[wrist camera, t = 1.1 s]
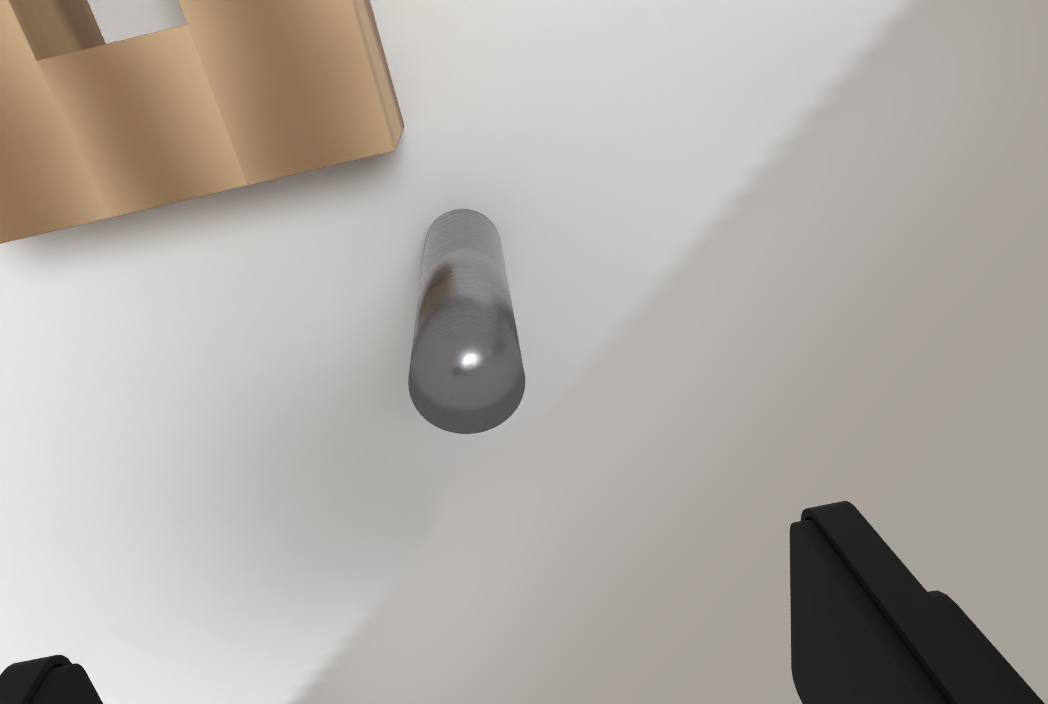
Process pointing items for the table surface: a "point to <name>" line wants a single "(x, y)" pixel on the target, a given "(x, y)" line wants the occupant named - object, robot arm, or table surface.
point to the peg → (465, 329)
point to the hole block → (181, 105)
